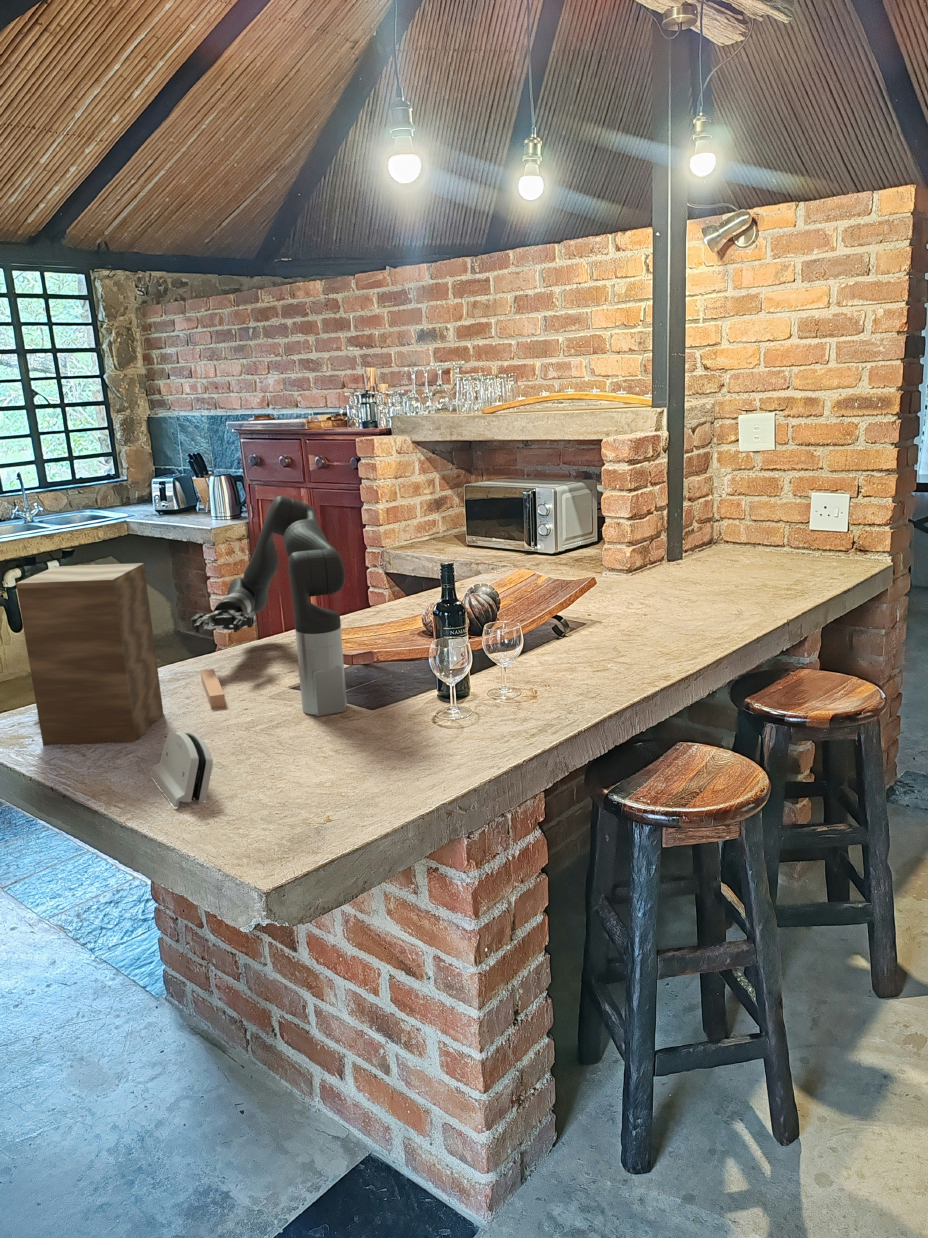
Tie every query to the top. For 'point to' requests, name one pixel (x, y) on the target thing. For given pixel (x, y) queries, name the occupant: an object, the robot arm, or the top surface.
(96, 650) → the pedestal
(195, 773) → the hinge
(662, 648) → the top surface
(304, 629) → the robot arm
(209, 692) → the tan block
